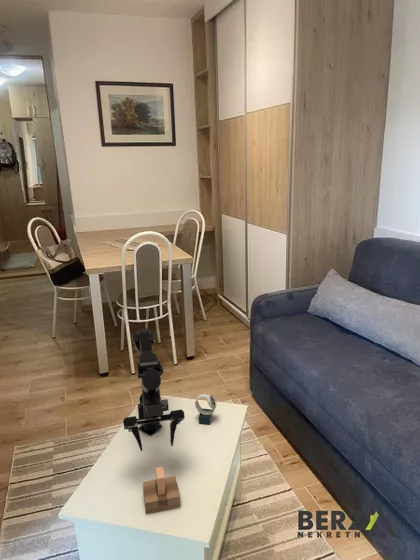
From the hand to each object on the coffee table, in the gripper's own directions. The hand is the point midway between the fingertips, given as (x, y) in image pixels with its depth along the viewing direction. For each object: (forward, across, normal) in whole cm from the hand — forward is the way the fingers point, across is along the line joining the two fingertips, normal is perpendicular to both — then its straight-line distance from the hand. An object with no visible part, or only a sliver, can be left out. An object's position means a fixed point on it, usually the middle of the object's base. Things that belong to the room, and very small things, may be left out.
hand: (156, 448), depth 124 cm
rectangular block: (+14, 0, +4) cm, 15 cm away
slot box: (+14, 0, +4) cm, 14 cm away
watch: (-10, +22, +28) cm, 36 cm away
